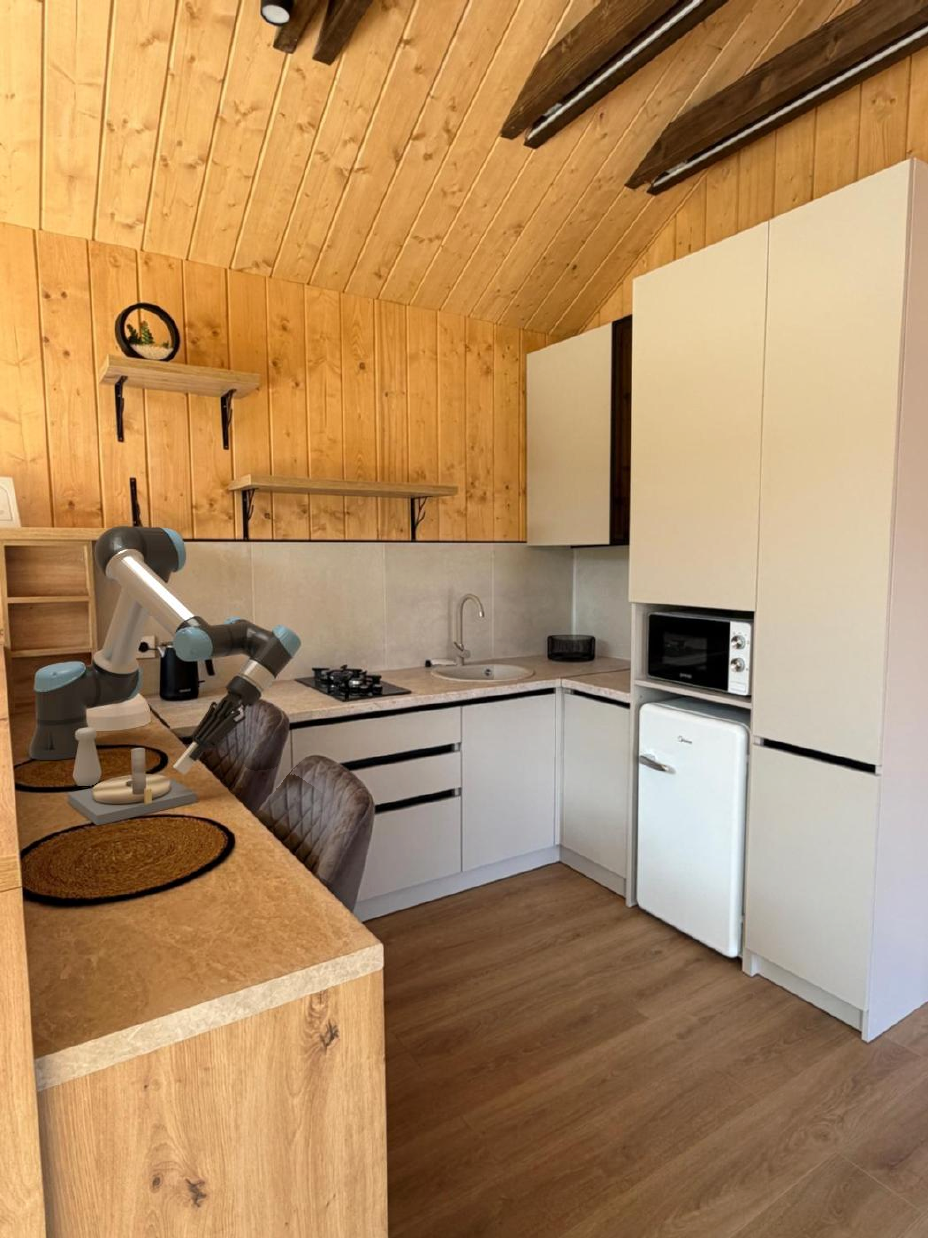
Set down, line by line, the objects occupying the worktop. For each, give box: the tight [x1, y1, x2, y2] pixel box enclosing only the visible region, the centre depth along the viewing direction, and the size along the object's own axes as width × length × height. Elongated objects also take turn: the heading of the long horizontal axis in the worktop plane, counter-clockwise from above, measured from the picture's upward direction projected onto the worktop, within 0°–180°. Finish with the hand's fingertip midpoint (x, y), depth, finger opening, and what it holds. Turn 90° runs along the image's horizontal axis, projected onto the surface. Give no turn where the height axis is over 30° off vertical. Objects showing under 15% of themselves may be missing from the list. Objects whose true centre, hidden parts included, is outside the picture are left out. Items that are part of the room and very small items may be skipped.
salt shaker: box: [72, 727, 103, 787], centre depth 165 cm, size 6×6×13 cm
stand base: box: [67, 773, 198, 827], centre depth 154 cm, size 18×20×5 cm
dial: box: [92, 747, 171, 804], centre depth 153 cm, size 15×15×10 cm
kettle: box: [86, 692, 152, 732], centre depth 223 cm, size 20×21×18 cm
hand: (178, 770), depth 155 cm, fingers closed
